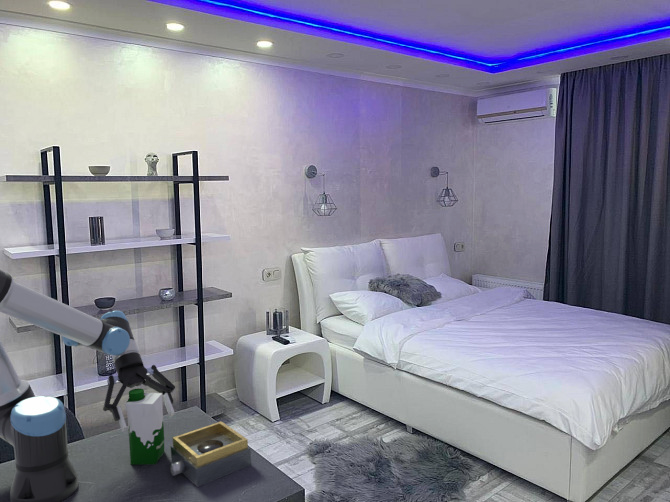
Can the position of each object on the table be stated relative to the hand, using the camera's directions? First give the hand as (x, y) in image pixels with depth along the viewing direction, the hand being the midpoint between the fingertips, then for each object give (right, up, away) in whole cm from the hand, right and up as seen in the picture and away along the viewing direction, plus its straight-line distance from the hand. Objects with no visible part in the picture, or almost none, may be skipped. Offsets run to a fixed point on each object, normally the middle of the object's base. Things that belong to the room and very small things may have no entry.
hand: (149, 422), depth 146 cm
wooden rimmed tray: (+17, -11, -2) cm, 20 cm away
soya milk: (-1, -11, +2) cm, 11 cm away
